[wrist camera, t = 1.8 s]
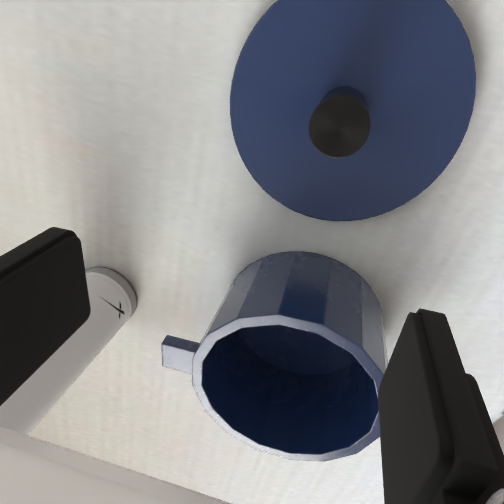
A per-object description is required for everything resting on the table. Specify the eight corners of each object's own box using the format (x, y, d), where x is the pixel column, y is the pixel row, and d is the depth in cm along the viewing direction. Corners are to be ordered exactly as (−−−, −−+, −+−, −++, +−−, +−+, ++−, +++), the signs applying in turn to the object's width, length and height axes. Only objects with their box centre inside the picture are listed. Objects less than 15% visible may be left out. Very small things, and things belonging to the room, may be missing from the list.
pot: (201, 230, 31) (153, 285, 23) (440, 277, 27) (471, 358, 20) (198, 350, 37) (160, 421, 30) (390, 399, 34) (399, 492, 27)
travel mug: (145, 283, 35) (-58, 503, 18) (129, 328, 38) (-54, 548, 21) (87, 252, 35) (-172, 442, 18) (76, 299, 38) (-150, 497, 21)
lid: (243, -39, 21) (201, -73, 16) (515, -21, 19) (584, -54, 13) (228, 197, 29) (196, 232, 23) (424, 231, 26) (443, 281, 20)
